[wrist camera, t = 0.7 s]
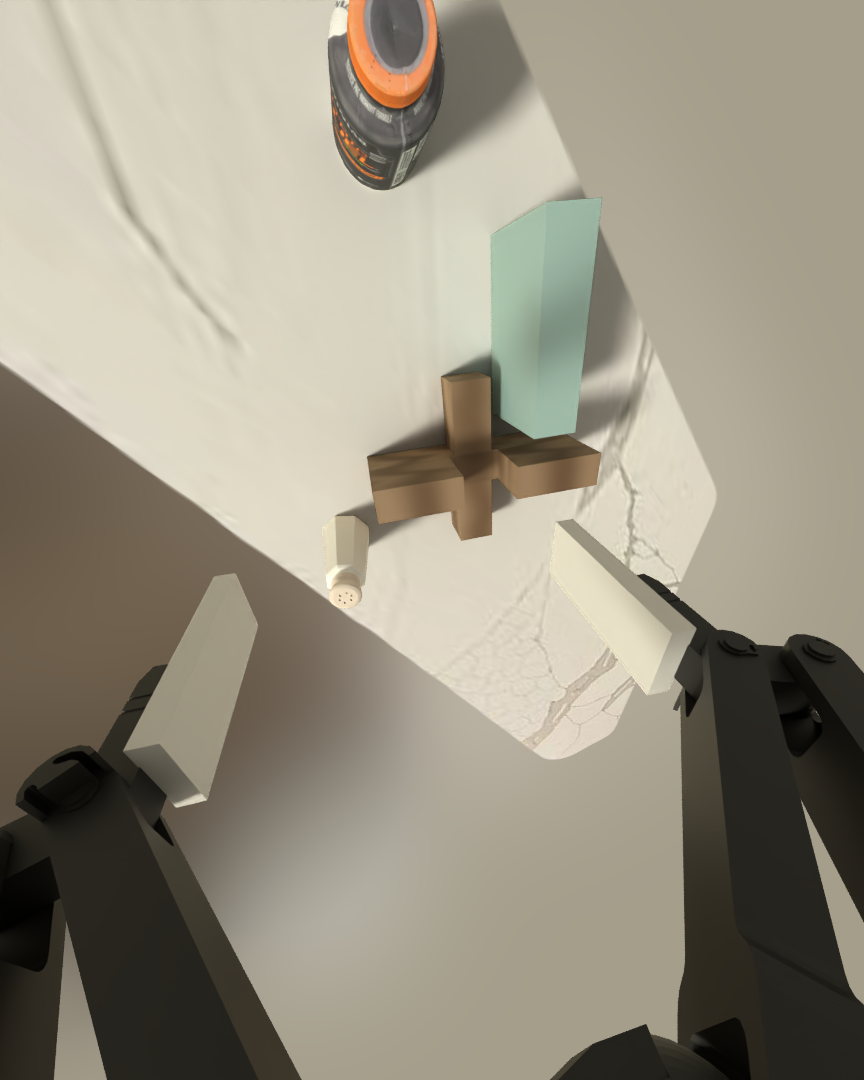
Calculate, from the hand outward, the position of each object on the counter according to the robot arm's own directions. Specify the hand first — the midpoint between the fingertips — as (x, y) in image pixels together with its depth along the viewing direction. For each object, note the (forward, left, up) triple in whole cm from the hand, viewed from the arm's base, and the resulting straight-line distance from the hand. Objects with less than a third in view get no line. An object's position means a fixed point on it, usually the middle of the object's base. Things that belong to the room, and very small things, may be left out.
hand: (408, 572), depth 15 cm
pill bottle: (-20, +4, -24) cm, 32 cm away
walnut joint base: (+4, +9, -24) cm, 26 cm away
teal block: (-7, +14, -24) cm, 29 cm away
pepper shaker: (+11, -5, -24) cm, 27 cm away
